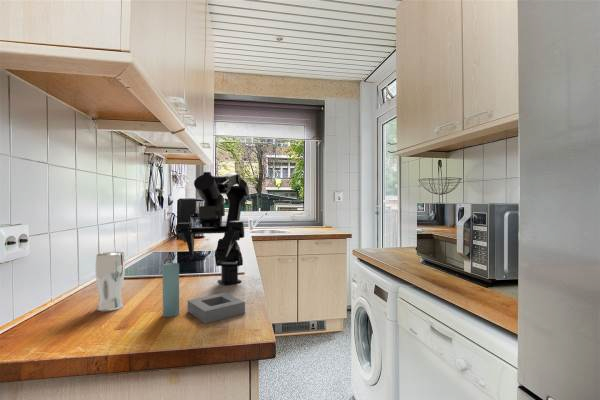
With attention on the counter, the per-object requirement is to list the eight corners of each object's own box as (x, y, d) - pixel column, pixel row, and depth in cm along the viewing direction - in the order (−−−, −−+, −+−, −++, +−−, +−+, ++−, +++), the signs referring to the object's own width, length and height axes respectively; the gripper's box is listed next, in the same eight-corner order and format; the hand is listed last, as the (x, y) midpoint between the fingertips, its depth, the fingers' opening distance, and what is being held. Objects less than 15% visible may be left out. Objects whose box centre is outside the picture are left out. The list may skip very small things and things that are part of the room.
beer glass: (91, 313, 84) (91, 256, 84) (100, 305, 91) (100, 252, 91) (121, 310, 86) (120, 255, 86) (127, 302, 93) (127, 251, 92)
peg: (160, 314, 83) (160, 264, 83) (176, 310, 86) (175, 262, 86) (165, 318, 80) (165, 266, 80) (181, 314, 83) (181, 264, 83)
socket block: (187, 311, 85) (187, 300, 85) (225, 302, 92) (225, 292, 92) (205, 323, 77) (205, 311, 77) (245, 313, 84) (245, 301, 84)
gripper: (174, 194, 89) (165, 244, 80) (242, 193, 91) (240, 241, 82) (183, 216, 98) (176, 263, 89) (244, 214, 100) (243, 260, 91)
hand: (208, 257), depth 87 cm, fingers open, 9 cm apart
